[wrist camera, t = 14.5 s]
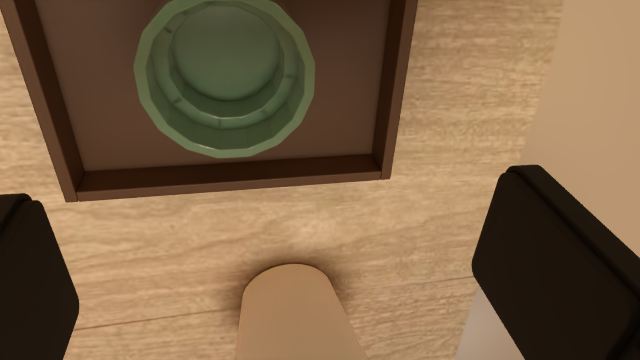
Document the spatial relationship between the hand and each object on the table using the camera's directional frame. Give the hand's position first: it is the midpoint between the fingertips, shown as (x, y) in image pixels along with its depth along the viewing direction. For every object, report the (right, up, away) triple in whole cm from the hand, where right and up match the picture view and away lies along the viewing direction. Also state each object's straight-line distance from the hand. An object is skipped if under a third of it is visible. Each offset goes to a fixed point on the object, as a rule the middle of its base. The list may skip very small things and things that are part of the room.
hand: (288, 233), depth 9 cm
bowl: (-4, +8, +12) cm, 15 cm away
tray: (-4, +8, +13) cm, 15 cm away
